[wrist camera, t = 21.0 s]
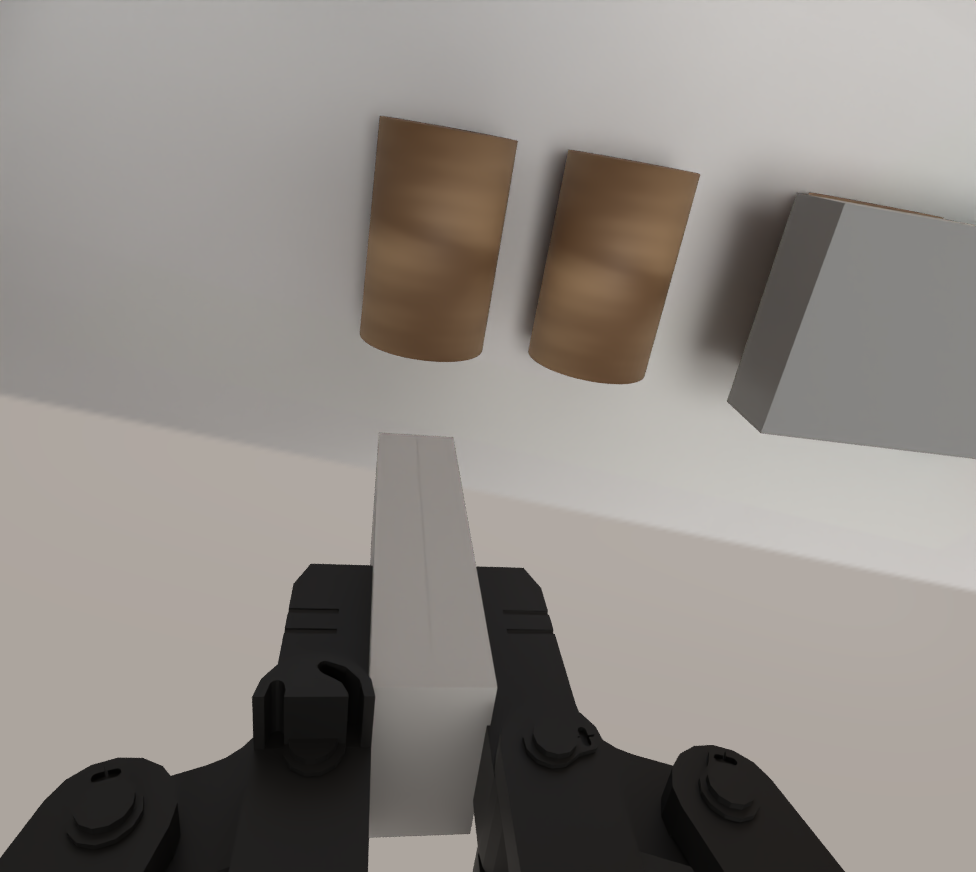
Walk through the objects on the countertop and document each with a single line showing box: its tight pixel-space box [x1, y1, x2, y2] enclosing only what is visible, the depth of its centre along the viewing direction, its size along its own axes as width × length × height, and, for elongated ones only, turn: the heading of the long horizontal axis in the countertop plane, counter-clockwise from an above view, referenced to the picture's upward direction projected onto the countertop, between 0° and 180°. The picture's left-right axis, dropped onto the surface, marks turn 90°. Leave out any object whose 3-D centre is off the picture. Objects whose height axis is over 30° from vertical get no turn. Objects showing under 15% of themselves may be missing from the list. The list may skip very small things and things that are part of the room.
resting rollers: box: [360, 116, 700, 384], centre depth 27 cm, size 12×8×5 cm, turn 80°
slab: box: [727, 193, 976, 459], centre depth 25 cm, size 12×8×3 cm, turn 80°
